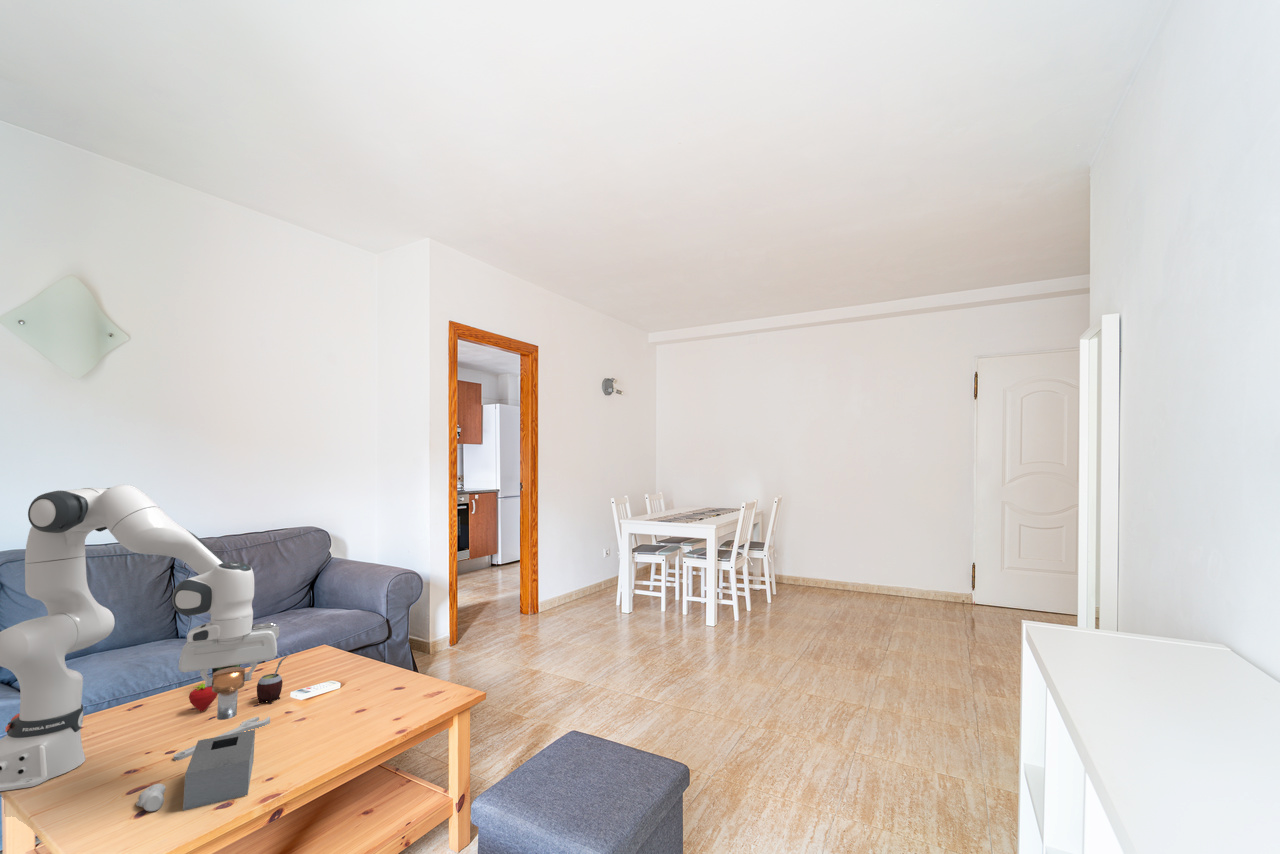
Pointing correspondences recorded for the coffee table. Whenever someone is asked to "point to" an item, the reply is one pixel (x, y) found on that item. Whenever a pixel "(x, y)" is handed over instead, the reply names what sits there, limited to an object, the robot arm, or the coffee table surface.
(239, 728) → the adjustable wrench
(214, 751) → the block
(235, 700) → the pin
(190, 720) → the coffee table surface
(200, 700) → the strawberry
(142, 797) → the mannequin head
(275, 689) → the mate gourd
